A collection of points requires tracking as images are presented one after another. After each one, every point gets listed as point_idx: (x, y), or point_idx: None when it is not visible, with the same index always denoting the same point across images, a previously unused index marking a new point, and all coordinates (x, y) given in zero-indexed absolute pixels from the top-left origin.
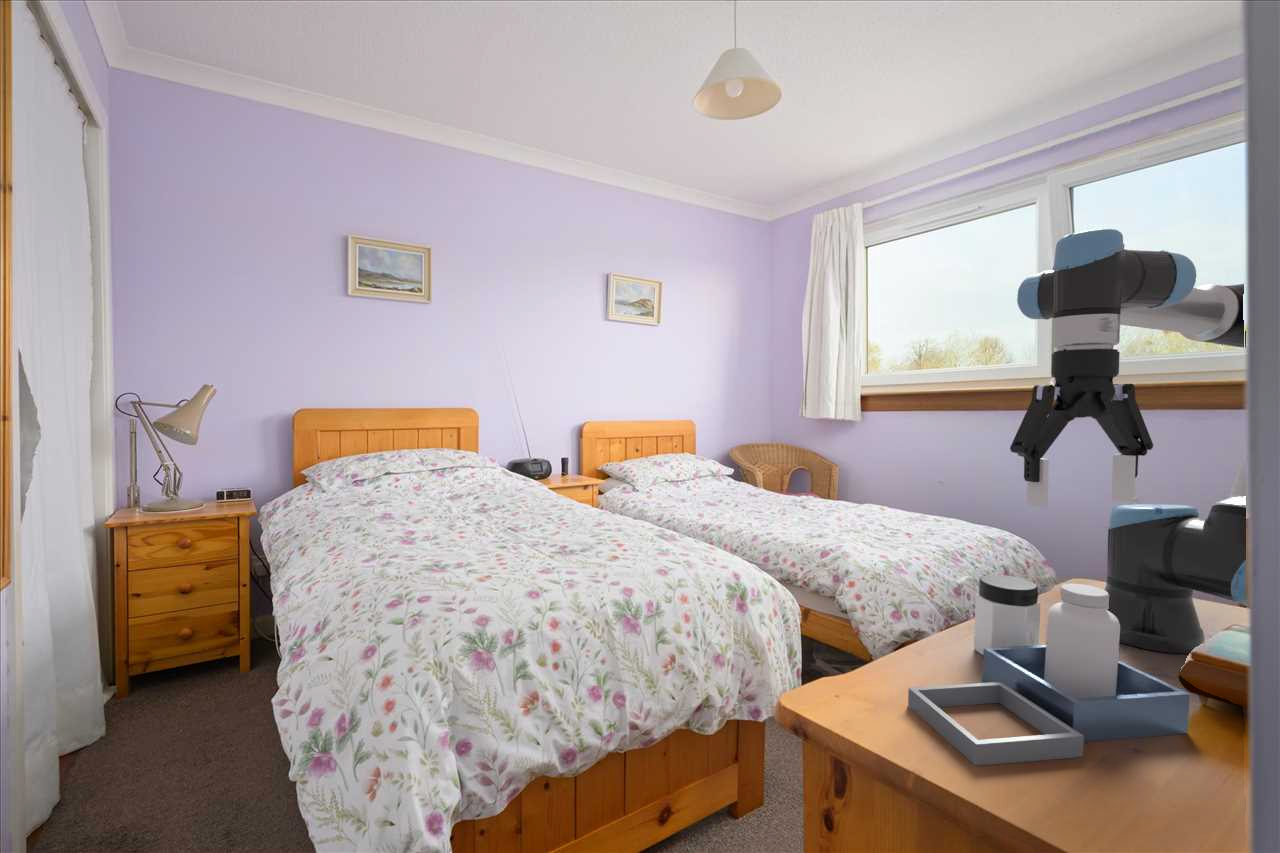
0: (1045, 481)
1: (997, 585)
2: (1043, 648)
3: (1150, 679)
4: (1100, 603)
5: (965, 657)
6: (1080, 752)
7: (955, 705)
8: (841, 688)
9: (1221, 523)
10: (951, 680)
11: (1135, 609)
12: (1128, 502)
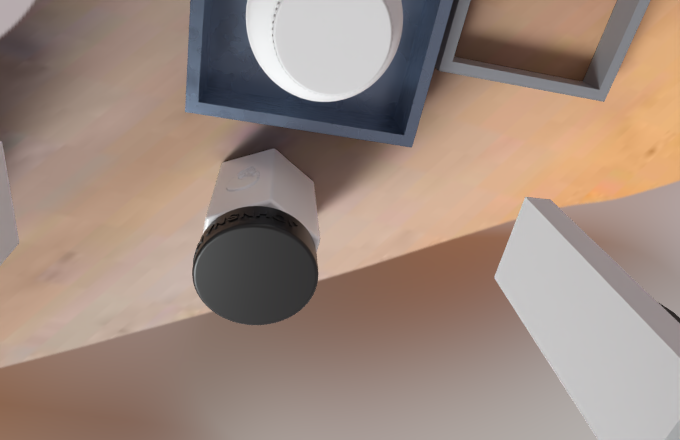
0: (614, 274)
1: (306, 264)
2: (290, 116)
3: None
4: None
5: (342, 206)
6: None
7: (519, 69)
8: (624, 169)
9: None
10: (443, 143)
11: None
12: (2, 147)
